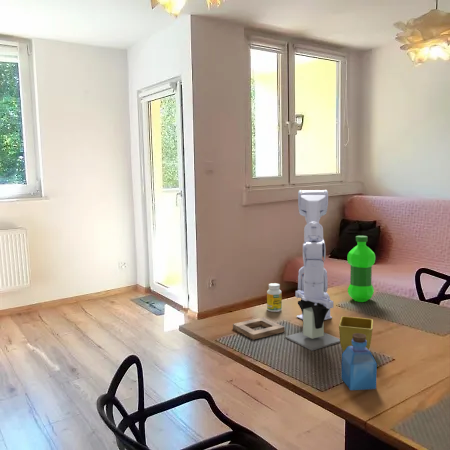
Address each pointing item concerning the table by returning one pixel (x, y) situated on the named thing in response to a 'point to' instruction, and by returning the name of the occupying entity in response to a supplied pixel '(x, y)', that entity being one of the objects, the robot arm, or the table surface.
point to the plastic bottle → (361, 270)
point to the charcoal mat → (313, 340)
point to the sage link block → (311, 324)
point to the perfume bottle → (359, 365)
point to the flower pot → (354, 330)
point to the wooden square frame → (269, 330)
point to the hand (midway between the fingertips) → (313, 325)
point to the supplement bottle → (274, 298)
